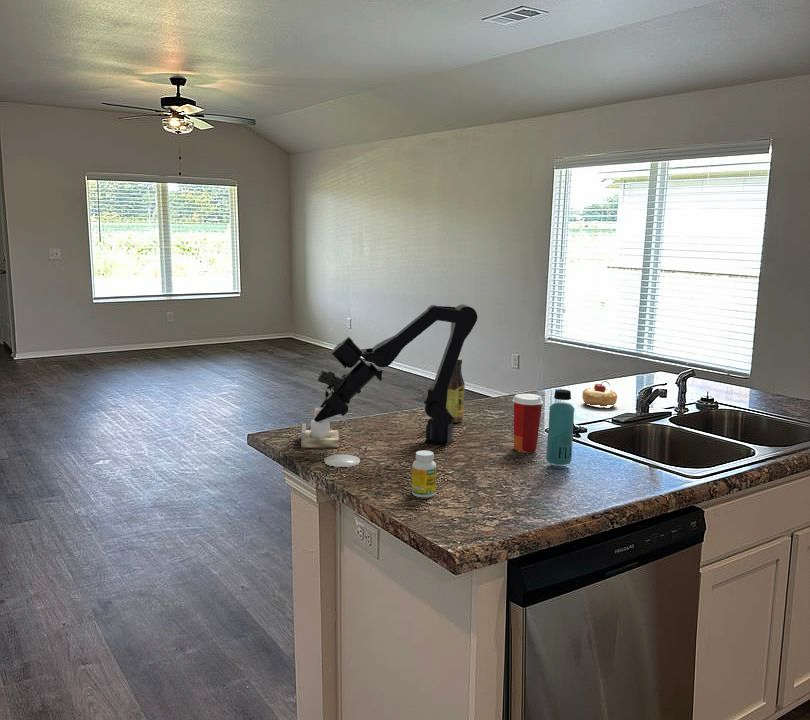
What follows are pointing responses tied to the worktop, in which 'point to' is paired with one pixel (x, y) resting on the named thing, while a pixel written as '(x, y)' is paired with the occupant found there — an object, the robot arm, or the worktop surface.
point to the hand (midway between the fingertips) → (315, 418)
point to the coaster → (342, 460)
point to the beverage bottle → (560, 429)
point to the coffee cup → (526, 421)
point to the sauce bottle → (456, 394)
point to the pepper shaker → (320, 427)
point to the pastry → (599, 395)
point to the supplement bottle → (424, 474)
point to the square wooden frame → (318, 439)
